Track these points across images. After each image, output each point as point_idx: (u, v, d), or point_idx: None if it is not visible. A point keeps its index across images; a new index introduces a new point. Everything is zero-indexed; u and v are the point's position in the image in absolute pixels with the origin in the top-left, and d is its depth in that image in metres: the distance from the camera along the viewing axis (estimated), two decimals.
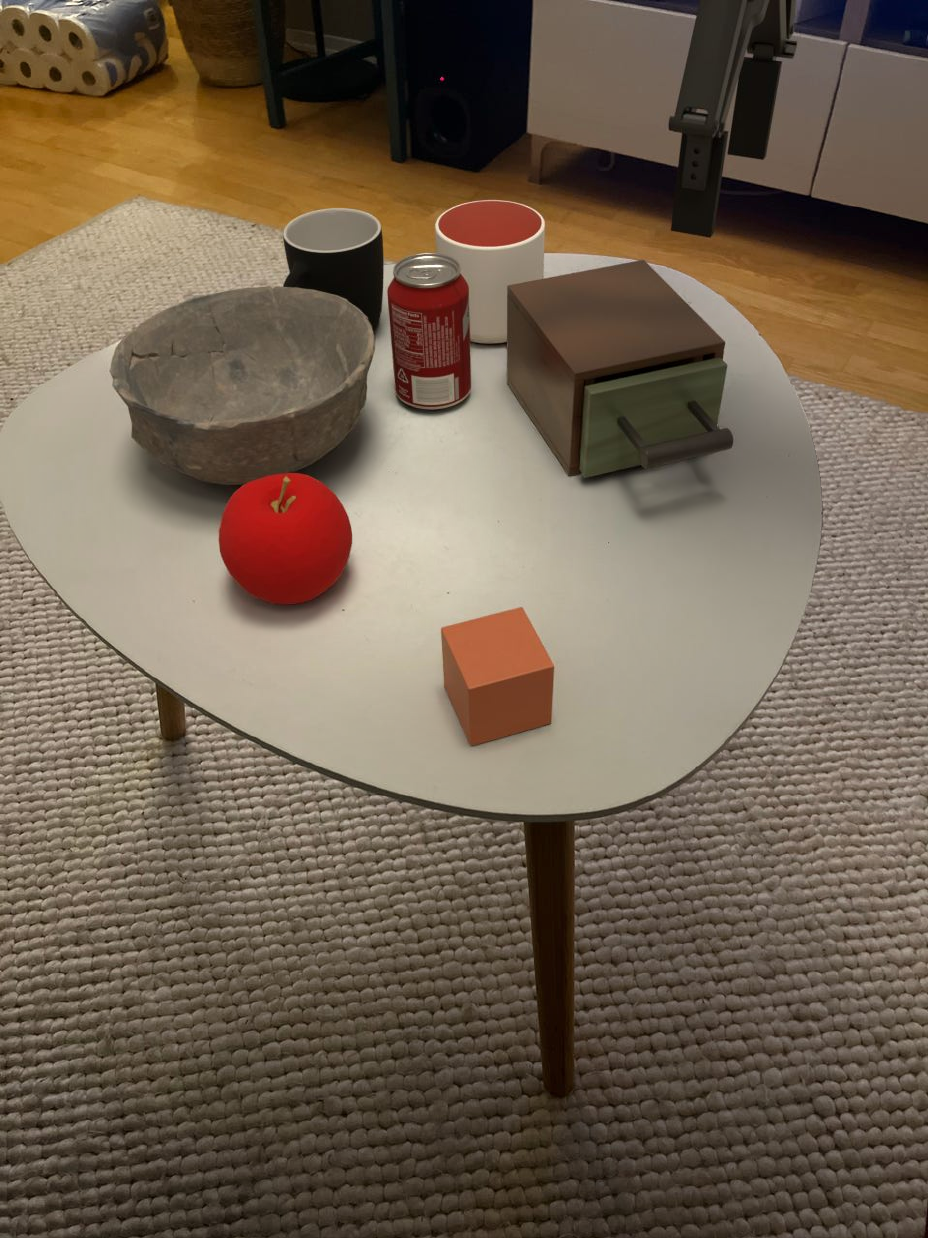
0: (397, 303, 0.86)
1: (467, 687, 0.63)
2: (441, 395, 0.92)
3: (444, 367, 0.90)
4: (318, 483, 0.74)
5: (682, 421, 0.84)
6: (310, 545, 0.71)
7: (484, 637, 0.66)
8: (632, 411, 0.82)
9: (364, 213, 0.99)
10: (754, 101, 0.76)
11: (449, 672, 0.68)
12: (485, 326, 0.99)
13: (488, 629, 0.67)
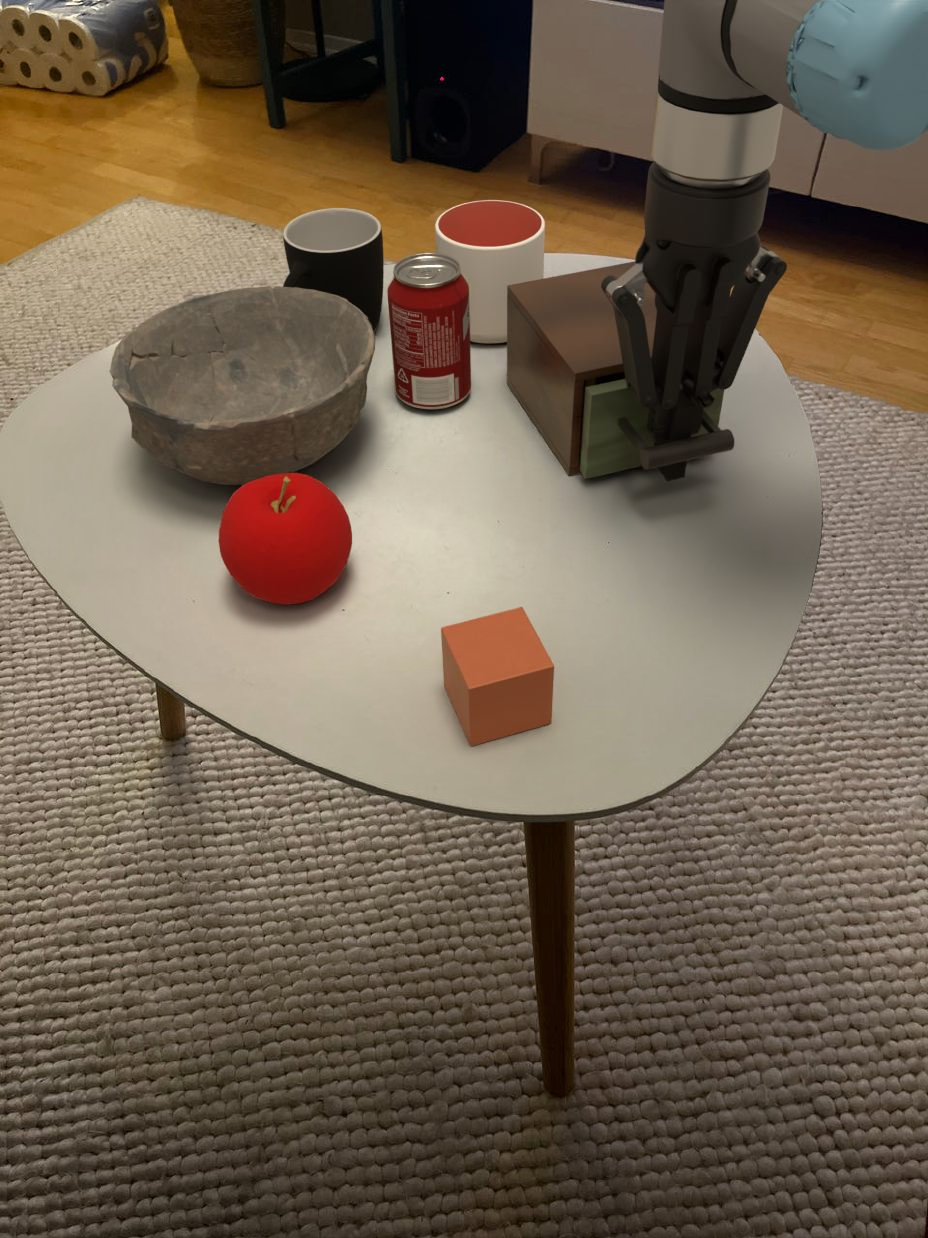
0: (397, 303, 0.86)
1: (467, 687, 0.63)
2: (441, 395, 0.92)
3: (444, 367, 0.90)
4: (318, 483, 0.74)
5: None
6: (311, 545, 0.71)
7: (484, 637, 0.66)
8: (633, 412, 0.81)
9: (364, 213, 0.99)
10: None
11: (449, 672, 0.68)
12: (485, 326, 0.99)
13: (488, 629, 0.67)
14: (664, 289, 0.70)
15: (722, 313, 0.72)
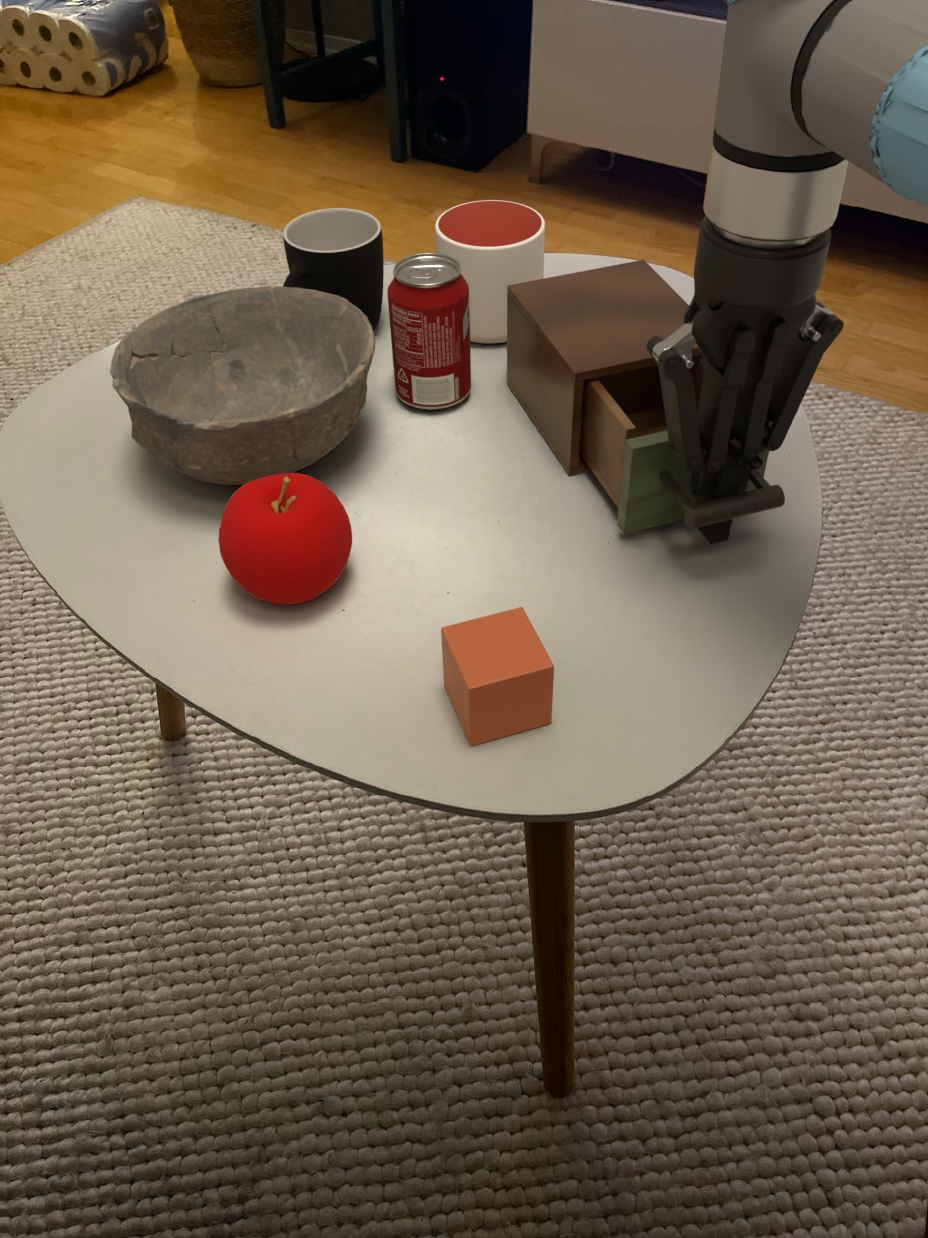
0: (397, 303, 0.86)
1: (467, 687, 0.63)
2: (441, 395, 0.92)
3: (444, 367, 0.90)
4: (318, 483, 0.74)
5: None
6: (311, 545, 0.71)
7: (484, 637, 0.66)
8: (675, 465, 0.77)
9: (364, 213, 0.99)
10: None
11: (449, 672, 0.68)
12: (485, 326, 0.99)
13: (488, 629, 0.67)
14: (714, 351, 0.66)
15: (775, 374, 0.68)
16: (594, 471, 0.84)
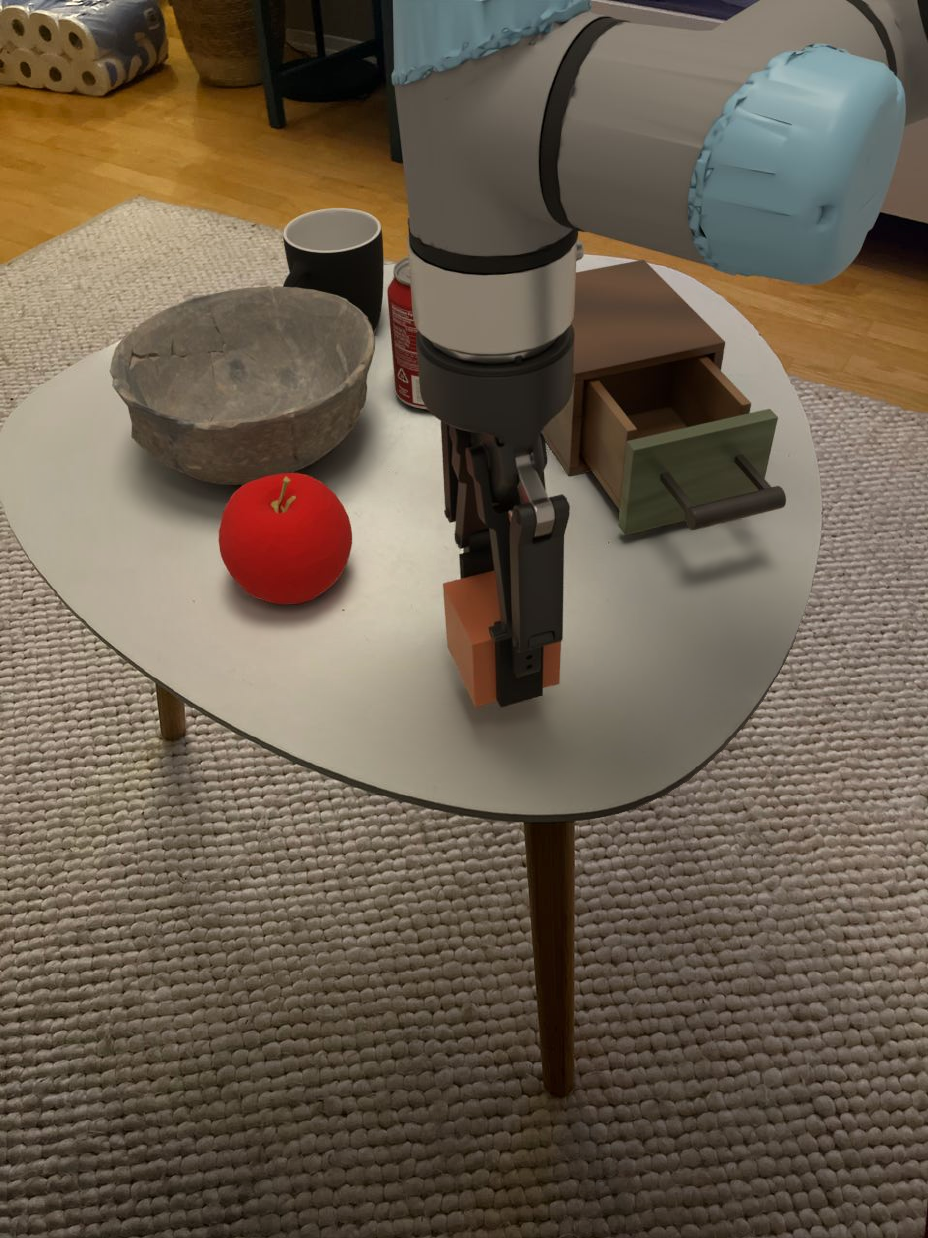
0: (397, 303, 0.86)
1: (470, 642, 0.60)
2: None
3: None
4: (318, 483, 0.74)
5: (728, 476, 0.79)
6: (311, 545, 0.71)
7: (488, 593, 0.63)
8: (676, 466, 0.77)
9: (364, 213, 0.99)
10: None
11: (452, 630, 0.65)
12: None
13: (492, 584, 0.64)
14: None
15: (483, 520, 0.55)
16: (595, 472, 0.84)
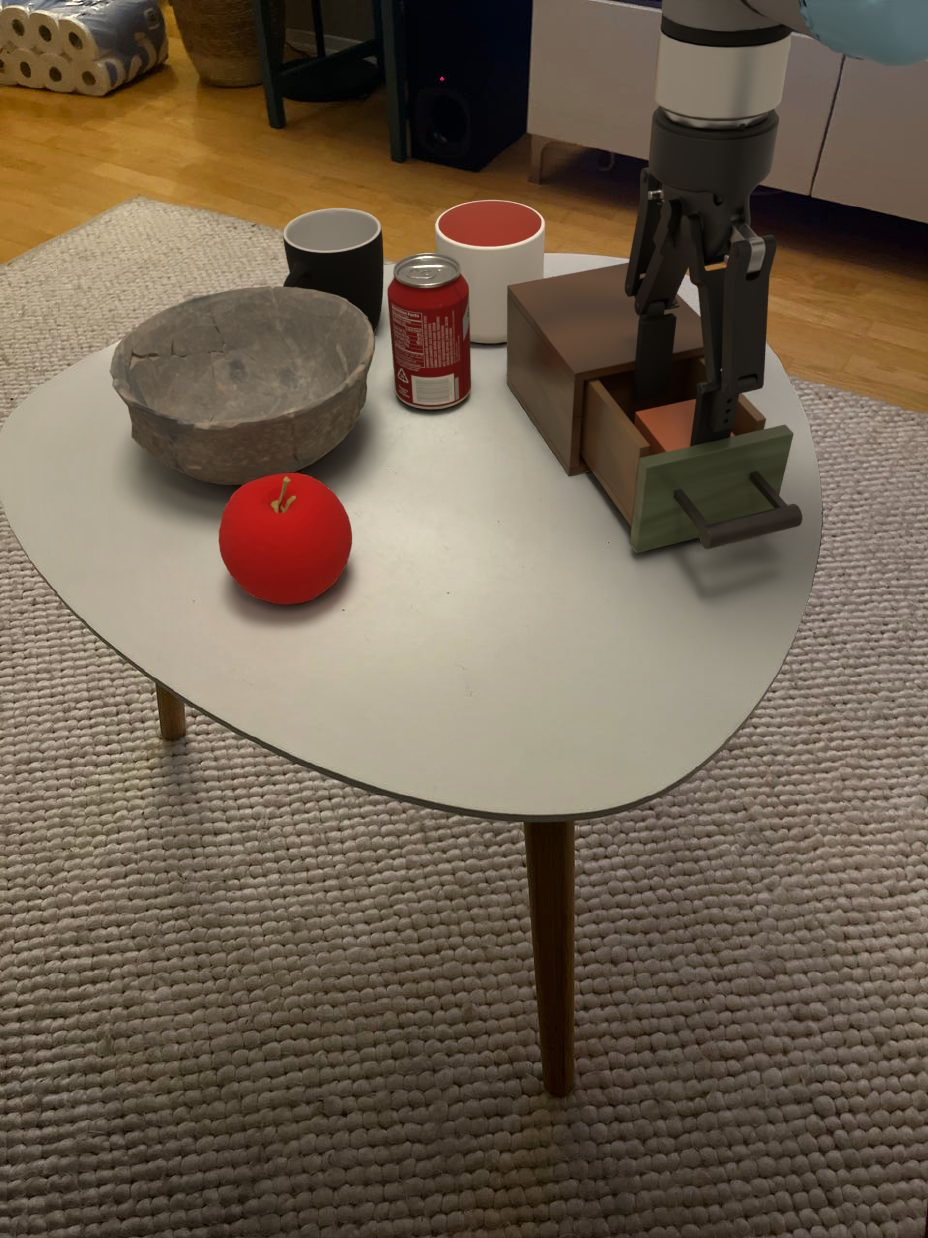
0: (397, 303, 0.86)
1: None
2: (441, 395, 0.92)
3: (444, 367, 0.90)
4: (318, 483, 0.74)
5: (742, 493, 0.77)
6: (311, 545, 0.71)
7: (674, 418, 0.79)
8: (690, 484, 0.75)
9: (364, 213, 0.99)
10: None
11: None
12: (485, 326, 0.99)
13: (676, 412, 0.79)
14: None
15: (696, 278, 0.68)
16: (606, 488, 0.83)
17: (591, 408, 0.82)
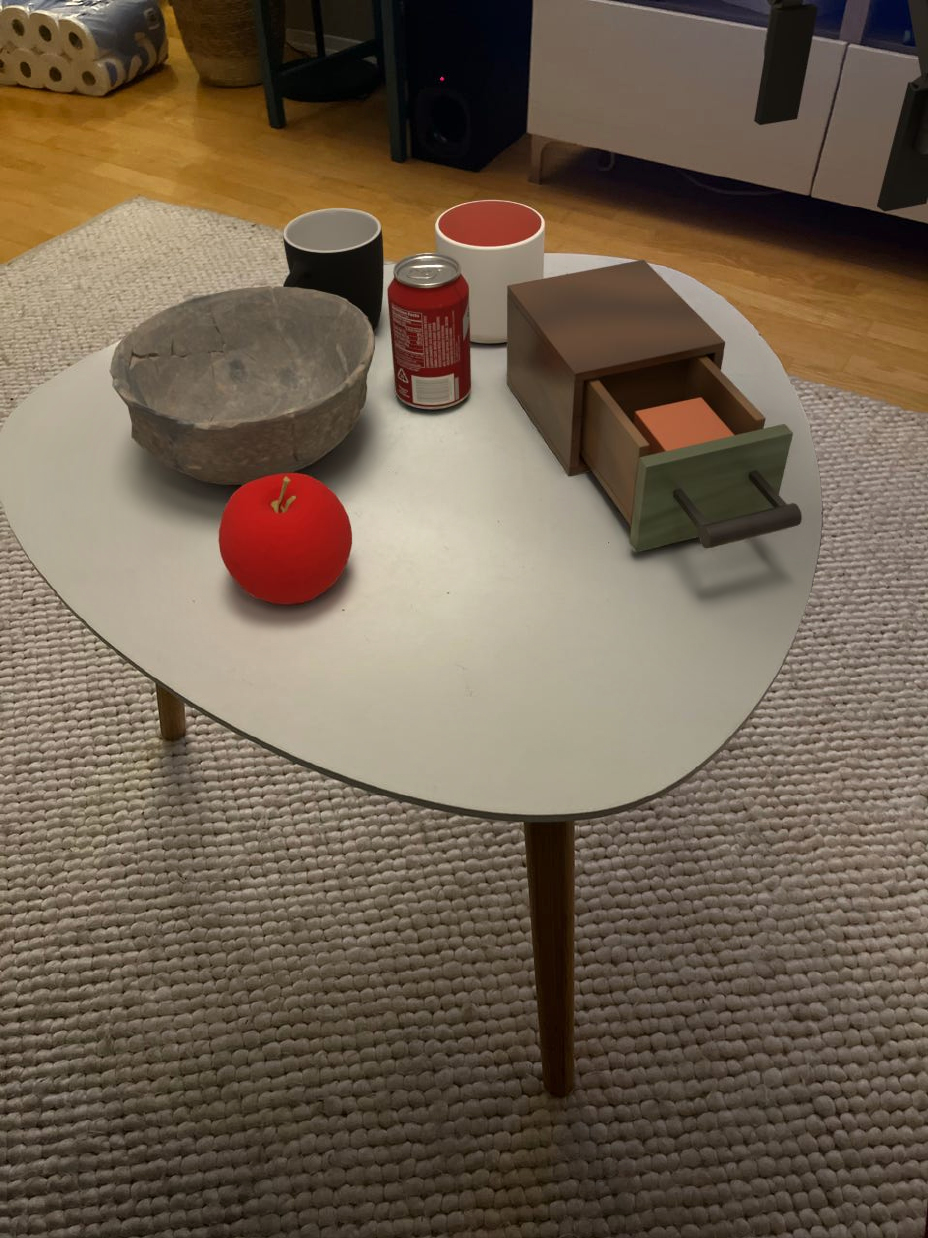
0: (397, 303, 0.86)
1: None
2: (441, 395, 0.92)
3: (444, 367, 0.90)
4: (318, 483, 0.74)
5: (742, 492, 0.78)
6: (311, 545, 0.71)
7: (673, 417, 0.79)
8: (690, 483, 0.75)
9: (364, 213, 0.99)
10: None
11: None
12: (485, 326, 0.99)
13: (675, 412, 0.79)
14: None
15: None
16: (605, 487, 0.83)
17: (591, 407, 0.82)
